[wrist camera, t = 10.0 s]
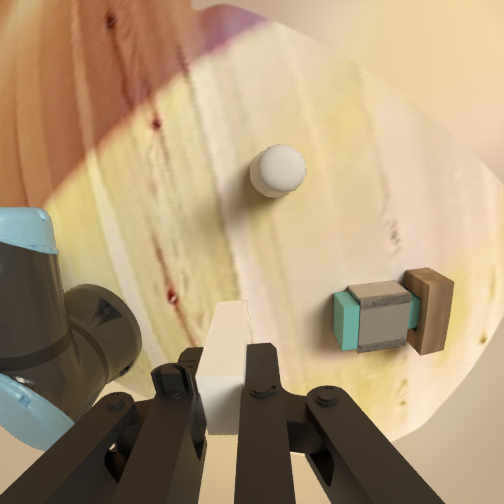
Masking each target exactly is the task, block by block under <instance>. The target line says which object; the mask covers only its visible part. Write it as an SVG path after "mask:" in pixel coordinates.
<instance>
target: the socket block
mask: <svg viewBox="0 0 504 504" xmlns="http://www.w3.org/2000/svg"><path fill="white" fill-rule="evenodd" d="M405 287H406V288H408V289H409V290H410V291H412V292H413V293H414V294H416V295H417V296H418V297H420V307H419V316H418V324H417V327H416V328H411V329H408V330H407V338H406V340H407V341H408V342H409V343H410V345H411V346H412V347H413V348H414V349H415V350H416V351H417V352H418V354H419V355H420V356H421V355H425V354H429V353H433V352H437V351H441V350H444V345H445V340H446V335H447V329H448V324H449V317H450V311H451V304H452V296H453V288H454V282H453V281H452V280H450V279H448V278H446V277H445V276H443V275H441V274H439V273H437V272H436V271H434V270H432V269H430V268H422V269H413V270H406V278H405Z"/></svg>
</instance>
